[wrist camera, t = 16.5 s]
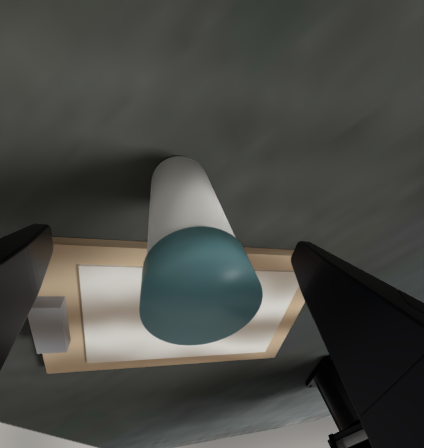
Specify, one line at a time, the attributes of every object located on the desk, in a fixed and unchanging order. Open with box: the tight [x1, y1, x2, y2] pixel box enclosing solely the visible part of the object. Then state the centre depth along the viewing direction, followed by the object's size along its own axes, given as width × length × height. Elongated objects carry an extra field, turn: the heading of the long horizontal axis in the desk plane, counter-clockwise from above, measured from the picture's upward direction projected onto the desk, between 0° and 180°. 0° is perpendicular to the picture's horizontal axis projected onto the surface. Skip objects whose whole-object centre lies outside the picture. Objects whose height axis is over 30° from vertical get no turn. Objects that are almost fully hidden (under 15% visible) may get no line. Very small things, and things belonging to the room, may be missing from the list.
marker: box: [139, 155, 263, 345], centre depth 11 cm, size 3×3×10 cm
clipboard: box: [28, 237, 305, 374], centre depth 21 cm, size 14×22×2 cm, turn 79°
